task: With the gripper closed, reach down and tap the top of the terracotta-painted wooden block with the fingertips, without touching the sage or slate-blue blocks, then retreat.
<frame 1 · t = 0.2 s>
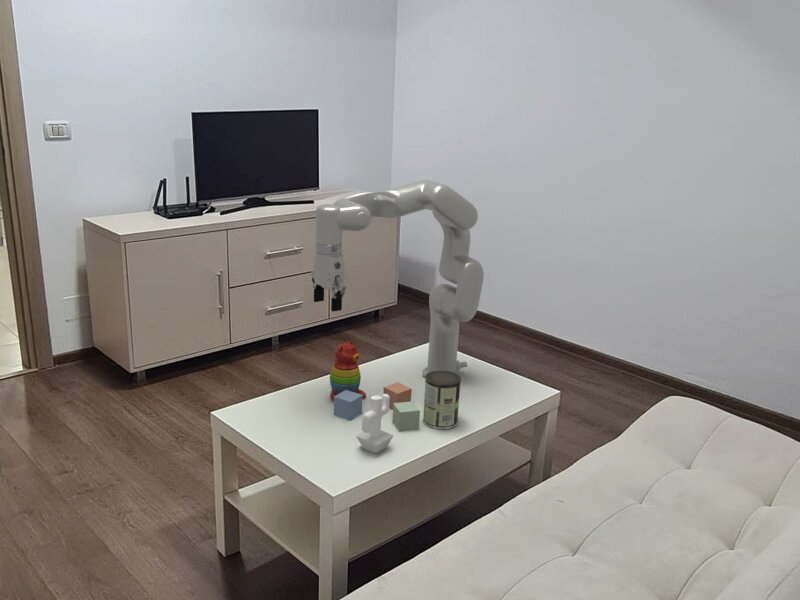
hand: (327, 305, 215), 31 cm above the table, fingers open, 9 cm apart
stacking bear: (345, 398, 229), on the table
figurine: (374, 448, 200), on the table
slate block: (347, 414, 218), on the table
terracotta block: (396, 405, 226), on the table
sage block: (405, 425, 214), on the table
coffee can: (439, 422, 217), on the table
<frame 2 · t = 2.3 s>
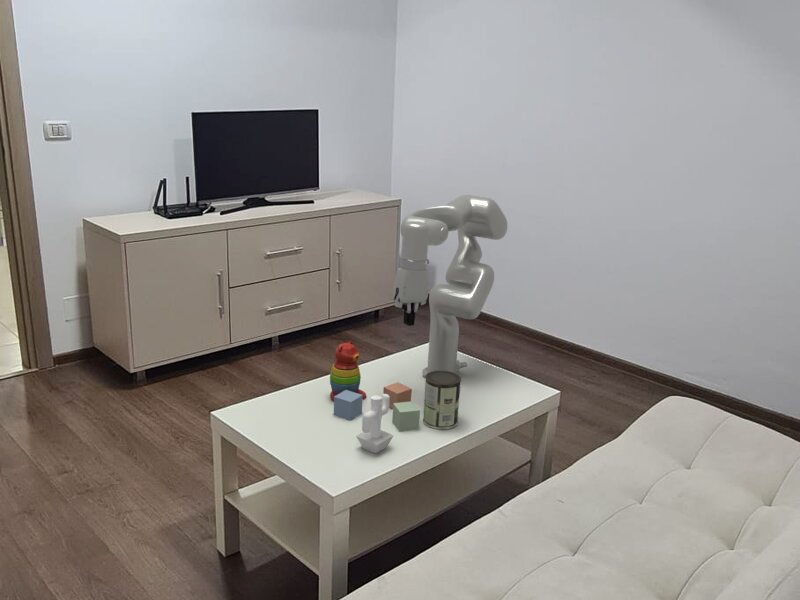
hand: (408, 324, 221), 25 cm above the table, fingers closed
nothing on the table moved.
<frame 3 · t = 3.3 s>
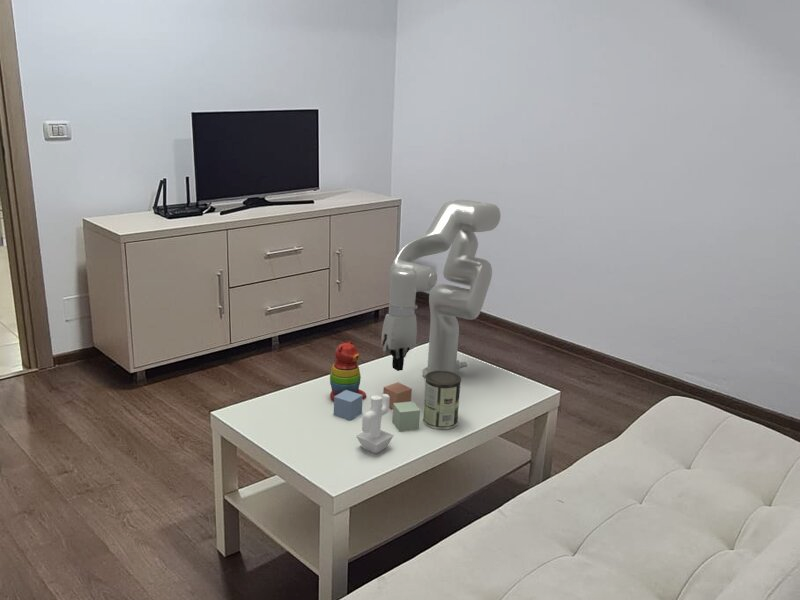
hand: (397, 369, 221), 12 cm above the table, fingers closed
nothing on the table moved.
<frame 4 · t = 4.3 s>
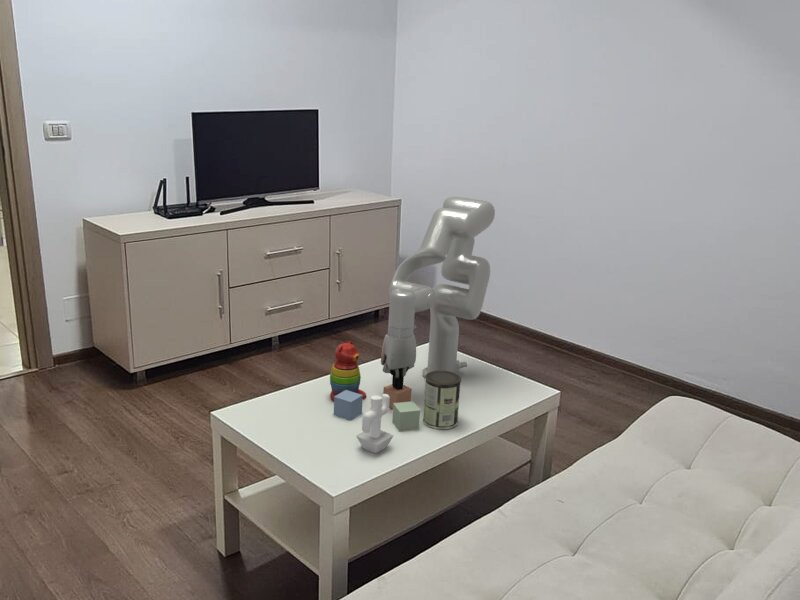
hand: (397, 387, 224), 6 cm above the table, fingers closed
terracotta block: (396, 405, 226), on the table, touching gripper
everything else where it was.
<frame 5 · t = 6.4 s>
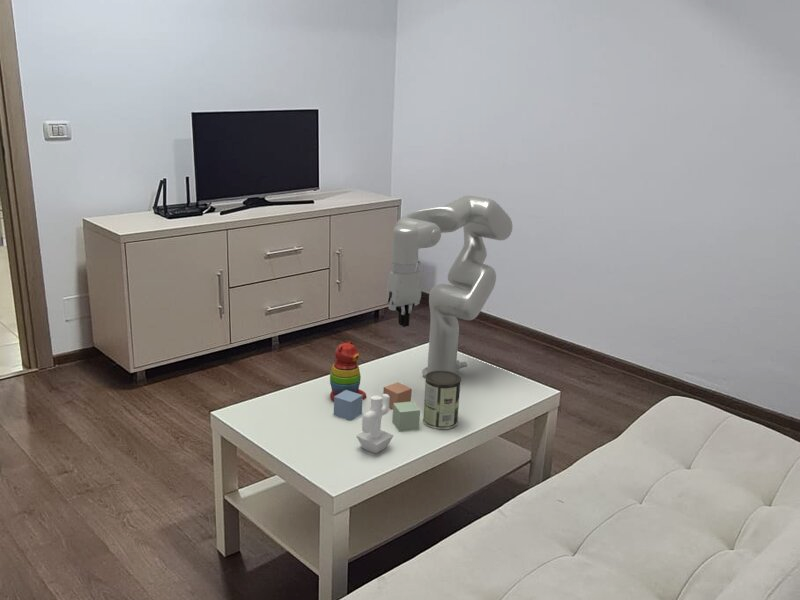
hand: (403, 325, 224), 24 cm above the table, fingers closed
terracotta block: (396, 405, 226), on the table
everything else where it was.
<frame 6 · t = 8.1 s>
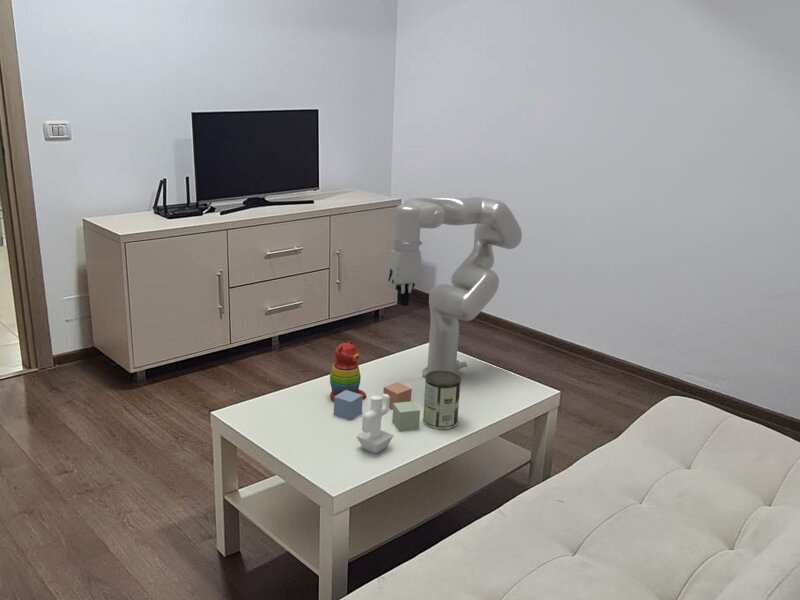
hand: (403, 304, 226), 29 cm above the table, fingers closed
nothing on the table moved.
at the end: terracotta block moved 0.1 cm from its start; sage block moved 0.1 cm from its start; slate block moved 0.1 cm from its start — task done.
